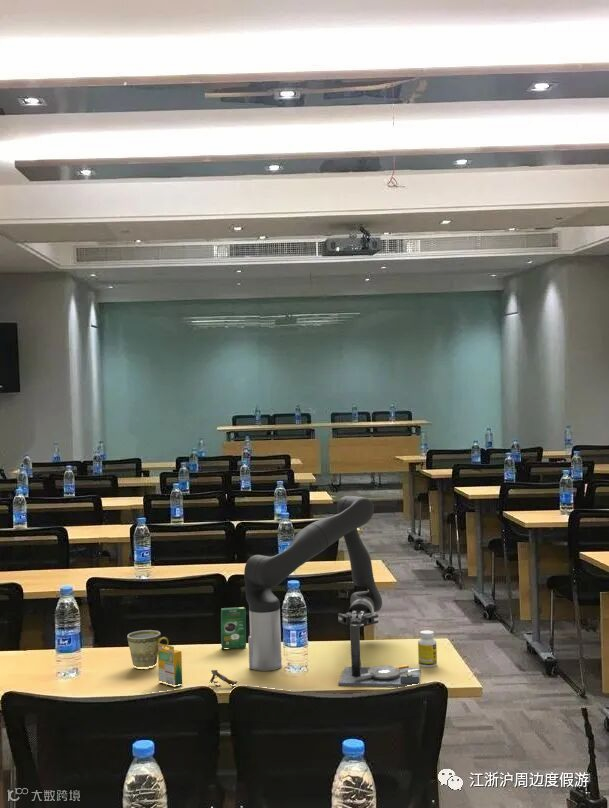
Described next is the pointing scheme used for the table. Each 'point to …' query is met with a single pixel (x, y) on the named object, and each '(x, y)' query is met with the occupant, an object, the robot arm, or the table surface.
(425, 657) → the supplement bottle
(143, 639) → the ceramic cup
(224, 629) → the coffee box
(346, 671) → the base plate
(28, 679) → the table surface
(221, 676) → the wooden post with brackets
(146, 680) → the table surface
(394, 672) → the upright bar with disc
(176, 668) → the crayon box
